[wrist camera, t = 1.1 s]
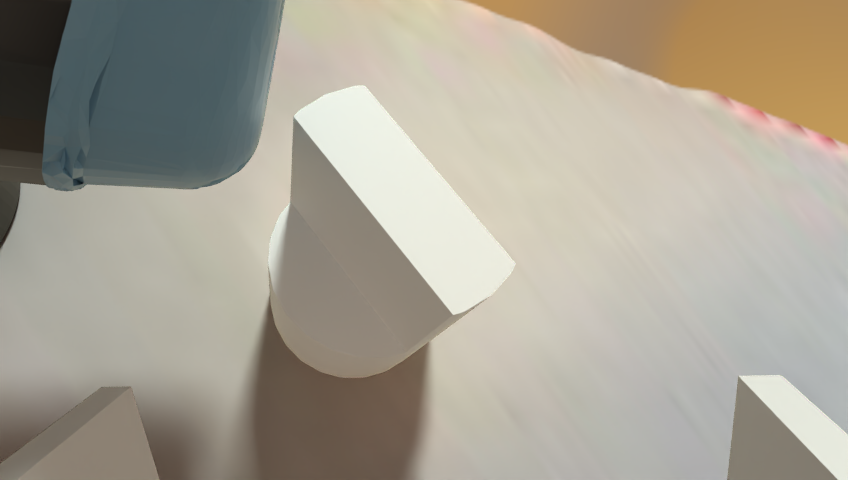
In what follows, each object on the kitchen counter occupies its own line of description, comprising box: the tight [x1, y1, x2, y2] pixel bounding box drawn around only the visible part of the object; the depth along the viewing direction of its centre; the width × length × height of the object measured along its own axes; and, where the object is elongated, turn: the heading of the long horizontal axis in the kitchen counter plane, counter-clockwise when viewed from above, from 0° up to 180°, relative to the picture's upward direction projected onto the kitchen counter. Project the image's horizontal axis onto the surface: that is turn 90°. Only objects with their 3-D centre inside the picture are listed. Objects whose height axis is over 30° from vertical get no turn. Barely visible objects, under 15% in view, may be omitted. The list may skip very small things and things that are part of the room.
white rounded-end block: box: [268, 85, 516, 378], centre depth 21 cm, size 9×9×12 cm
